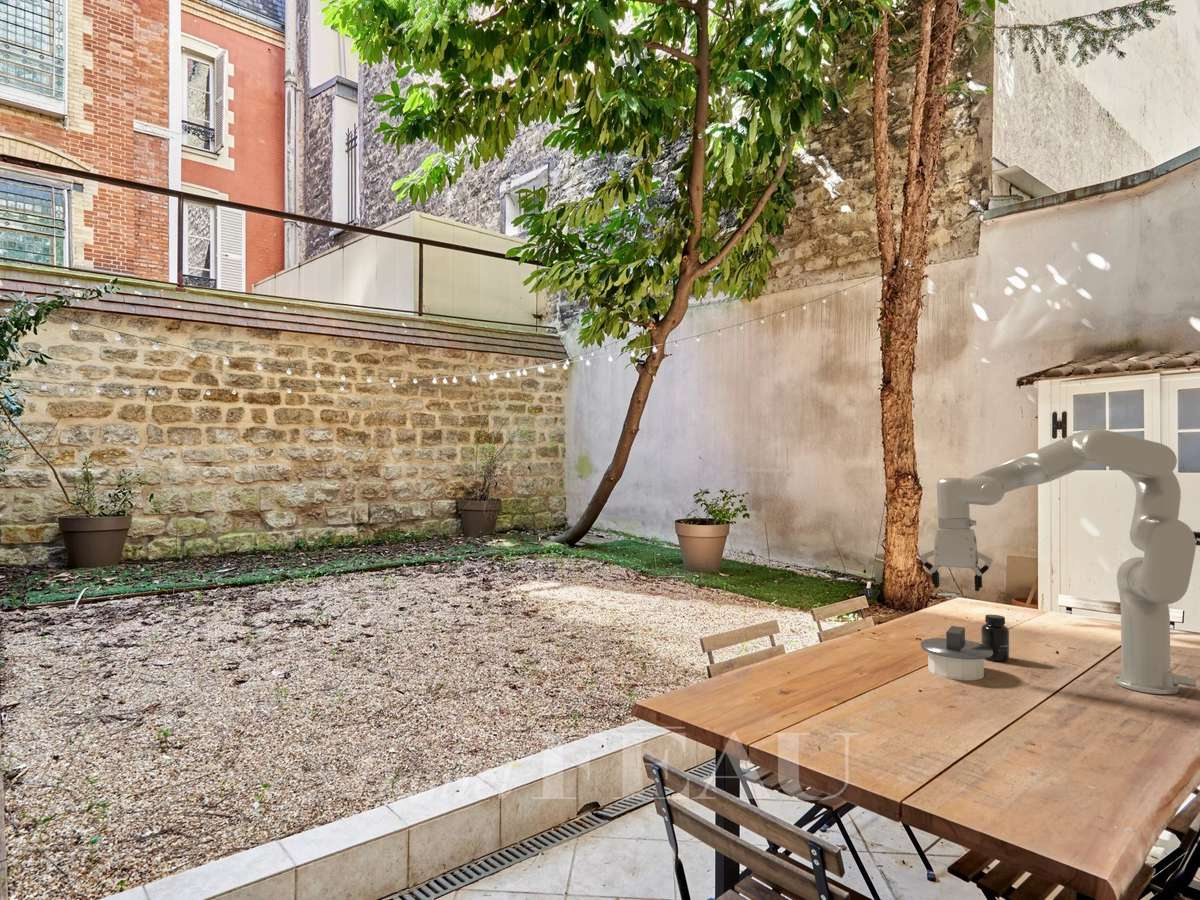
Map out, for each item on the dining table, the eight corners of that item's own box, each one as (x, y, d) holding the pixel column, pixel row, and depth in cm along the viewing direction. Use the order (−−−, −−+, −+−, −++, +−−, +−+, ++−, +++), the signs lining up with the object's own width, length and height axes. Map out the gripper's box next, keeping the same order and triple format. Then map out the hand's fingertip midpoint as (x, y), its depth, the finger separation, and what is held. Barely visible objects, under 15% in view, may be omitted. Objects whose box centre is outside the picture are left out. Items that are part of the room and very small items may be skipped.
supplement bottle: (1007, 664, 188) (1007, 620, 188) (979, 659, 193) (979, 616, 193) (1011, 657, 194) (1010, 615, 194) (983, 653, 198) (982, 612, 198)
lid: (996, 647, 184) (996, 627, 184) (988, 663, 171) (987, 642, 171) (927, 637, 194) (927, 619, 194) (914, 652, 181) (914, 632, 181)
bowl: (983, 669, 185) (983, 646, 185) (983, 683, 173) (983, 660, 173) (930, 662, 191) (930, 641, 191) (926, 676, 180) (926, 653, 180)
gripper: (993, 523, 180) (996, 589, 180) (921, 522, 190) (924, 583, 190) (989, 526, 174) (992, 594, 174) (915, 524, 184) (918, 588, 184)
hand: (956, 588), depth 182 cm, fingers open, 9 cm apart
